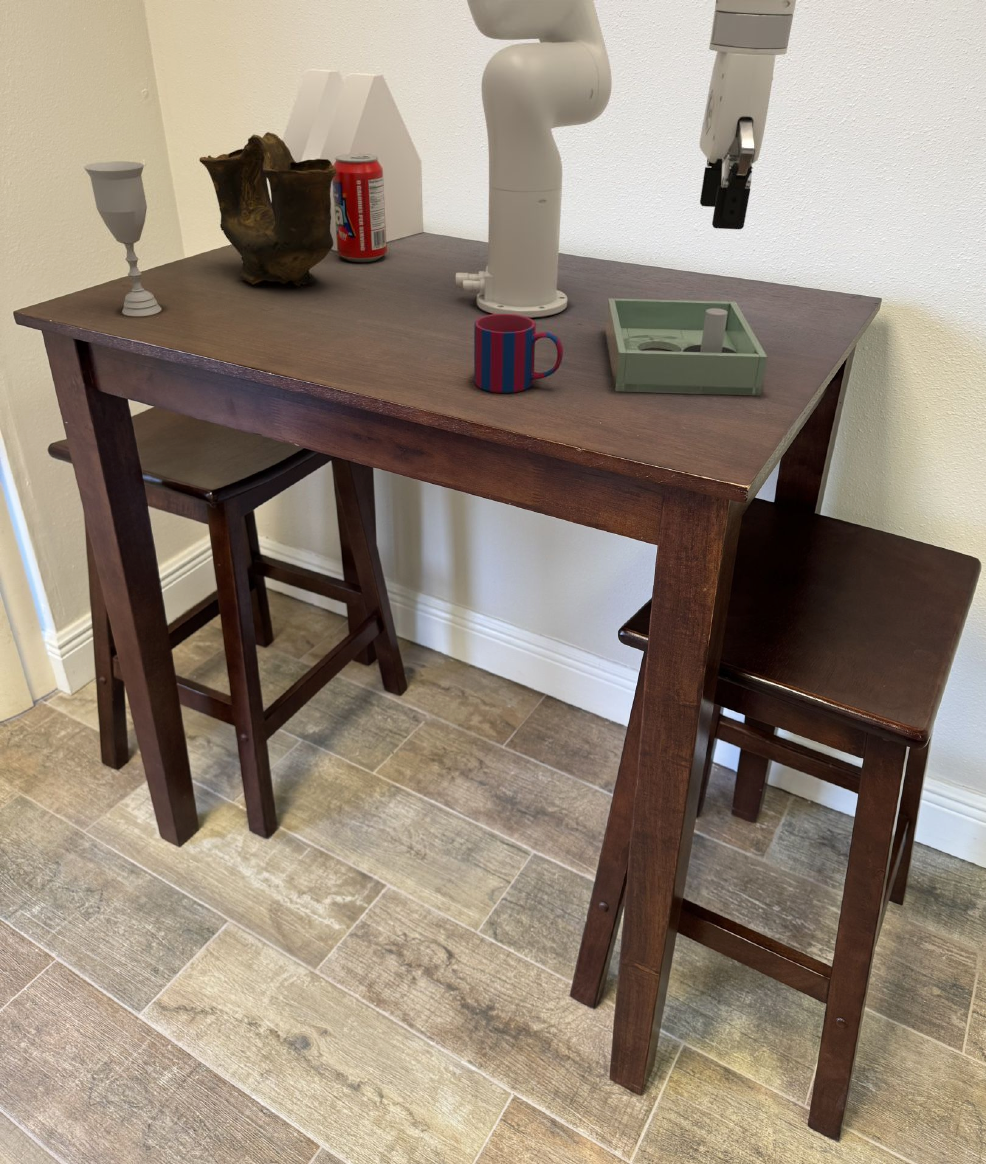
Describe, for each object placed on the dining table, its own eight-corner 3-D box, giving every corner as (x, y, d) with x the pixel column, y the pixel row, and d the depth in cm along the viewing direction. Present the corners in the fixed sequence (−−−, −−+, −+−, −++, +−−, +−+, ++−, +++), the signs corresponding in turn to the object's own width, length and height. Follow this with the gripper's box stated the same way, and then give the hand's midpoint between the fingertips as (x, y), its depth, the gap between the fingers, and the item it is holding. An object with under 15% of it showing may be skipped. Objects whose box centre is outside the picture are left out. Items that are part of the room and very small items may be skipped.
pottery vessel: (362, 291, 135) (353, 140, 124) (300, 306, 129) (284, 148, 118) (263, 257, 150) (247, 120, 139) (202, 270, 143) (181, 126, 132)
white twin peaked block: (359, 219, 173) (350, 65, 160) (423, 231, 166) (419, 71, 152) (281, 238, 160) (264, 72, 147) (346, 253, 153) (334, 79, 139)
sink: (615, 391, 104) (618, 352, 102) (605, 333, 121) (608, 298, 118) (760, 395, 104) (767, 356, 101) (730, 336, 120) (735, 301, 118)
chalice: (180, 307, 127) (156, 164, 118) (145, 321, 122) (116, 172, 112) (138, 299, 130) (111, 159, 120) (102, 313, 125) (70, 167, 115)
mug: (491, 367, 110) (492, 309, 106) (569, 383, 106) (573, 324, 102) (463, 386, 105) (463, 326, 101) (544, 403, 101) (547, 341, 97)
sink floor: (615, 391, 104) (616, 382, 104) (605, 333, 121) (606, 325, 120) (760, 395, 104) (761, 387, 103) (730, 336, 120) (731, 328, 120)
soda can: (384, 264, 147) (379, 161, 139) (334, 263, 147) (326, 160, 139) (389, 252, 154) (385, 152, 146) (341, 251, 154) (334, 151, 146)
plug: (684, 374, 106) (691, 319, 103) (678, 354, 111) (684, 301, 108) (741, 376, 106) (750, 321, 102) (732, 356, 111) (740, 303, 108)
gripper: (700, 26, 99) (676, 197, 109) (725, 40, 85) (695, 235, 95) (771, 29, 99) (741, 200, 109) (808, 43, 85) (770, 239, 94)
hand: (720, 216), depth 102 cm, fingers open, 9 cm apart
